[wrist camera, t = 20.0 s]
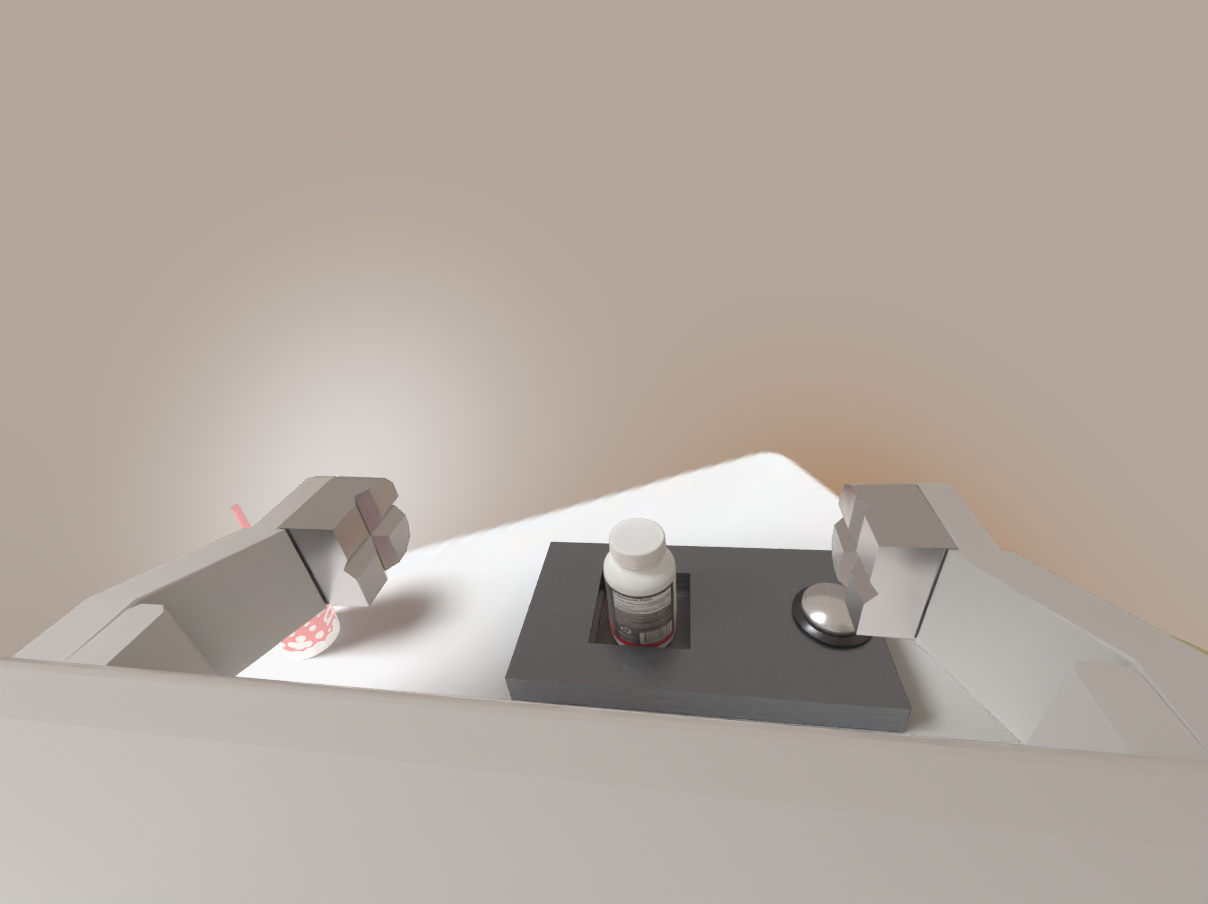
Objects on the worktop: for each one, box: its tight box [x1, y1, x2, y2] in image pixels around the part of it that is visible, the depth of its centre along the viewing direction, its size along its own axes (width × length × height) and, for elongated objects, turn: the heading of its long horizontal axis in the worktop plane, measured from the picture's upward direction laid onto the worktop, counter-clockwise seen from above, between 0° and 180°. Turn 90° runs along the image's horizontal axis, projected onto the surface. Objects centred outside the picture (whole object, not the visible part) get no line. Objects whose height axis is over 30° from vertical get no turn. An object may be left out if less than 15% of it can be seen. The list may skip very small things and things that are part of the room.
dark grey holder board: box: [505, 542, 911, 733], centre depth 39 cm, size 26×14×4 cm, turn 82°
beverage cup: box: [231, 504, 340, 661], centre depth 39 cm, size 6×6×14 cm
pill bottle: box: [604, 518, 677, 648], centre depth 38 cm, size 5×5×10 cm
